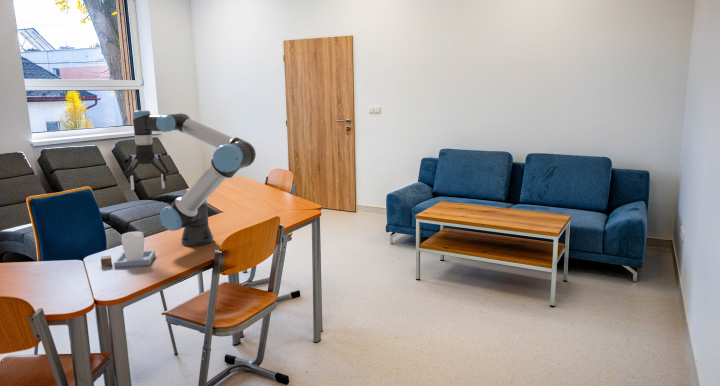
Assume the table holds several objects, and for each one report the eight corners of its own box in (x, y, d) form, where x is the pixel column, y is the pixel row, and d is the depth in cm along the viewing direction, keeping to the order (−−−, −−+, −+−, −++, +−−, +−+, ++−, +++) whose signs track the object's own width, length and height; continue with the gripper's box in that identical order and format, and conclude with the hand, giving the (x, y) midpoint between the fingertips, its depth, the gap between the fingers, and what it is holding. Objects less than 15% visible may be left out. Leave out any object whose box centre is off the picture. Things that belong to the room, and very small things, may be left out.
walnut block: (111, 264, 218) (110, 255, 217) (112, 266, 214) (111, 257, 214) (101, 265, 216) (100, 256, 215) (101, 268, 213) (100, 259, 212)
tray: (155, 255, 229) (154, 250, 228) (149, 265, 215) (148, 260, 215) (122, 257, 226) (121, 252, 225) (114, 268, 212) (113, 262, 212)
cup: (132, 256, 226) (130, 230, 223) (150, 257, 224) (147, 231, 221) (119, 262, 217) (116, 236, 215) (137, 264, 215) (134, 237, 213)
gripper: (173, 142, 238) (177, 186, 242) (117, 144, 233) (121, 188, 237) (171, 144, 231) (174, 189, 235) (113, 145, 225) (117, 191, 230)
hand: (148, 189), depth 236 cm, fingers open, 13 cm apart
